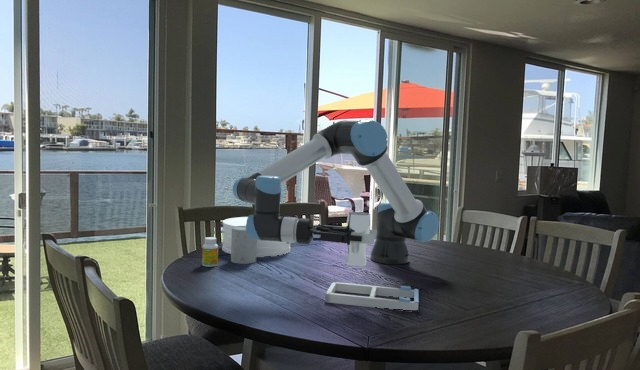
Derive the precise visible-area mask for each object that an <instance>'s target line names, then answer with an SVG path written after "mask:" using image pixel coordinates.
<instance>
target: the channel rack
mask: <svg viewBox="0 0 640 370" xmlns="http://www.w3.org/2000/svg"><path fill="white" fill-rule="evenodd" d="M400 288H401V287H400ZM400 288H399V287H390V286H378V285H371V284H370V285H368V284H358V283H350V282H339V281H332V283H331V284H330V286H329V287H328V289H327V291H326V292H325V296H324V297H325V298H324V299H325V300H324V303H329V304H330V303H331V304H339V305H346V306H347V305H348V306H355V307H358V306H359V307H367V308H375V307H377V308H376V309H384V308H389V309H388V310H393V309H403V310H418V311H419V304H418V303H414V300H413V301H412V300H410V303H409V302H399V299H391V298H383V297H389V296H393V297H392V298H398V297H407V298H414V289H411V291H408V290H400ZM336 292H340V293H336ZM341 292H342V293H341ZM344 293H348V294H344ZM349 293H353V294H349ZM354 294H360V295H354ZM361 294H362V295H363V296H362V295H361ZM364 295H365V296H364ZM366 295H369V296H366ZM377 296H378V297H377ZM379 296H380V297H379ZM403 310H402V311H403Z"/></svg>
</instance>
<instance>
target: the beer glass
mask: <svg viewBox="0 0 640 370" xmlns="http://www.w3.org/2000/svg"><path fill="white" fill-rule="evenodd" d="M345 224H346V226H345V227H346V233H350V234H351V233H363V234H370V230H371V213H368V212H362V211H349V212H347V219H346V223H345ZM367 248H368V244H364V243H353V242H351V241H350V245H347V255H346V261H345V265H348V266H349V267H366V266H367Z"/></svg>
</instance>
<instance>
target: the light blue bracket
mask: <svg viewBox="0 0 640 370" xmlns="http://www.w3.org/2000/svg"><path fill="white" fill-rule="evenodd" d="M411 287H412V286H409V285H407V286H406V285H400V290H408V291H411V290H412V288H411ZM413 290H414V299H413V301H414V303H418V305H419V303H420V302H419V300H420V299H419V289H418V288H414V289H413ZM398 300H399V302H409V303H410V301H411V299H410V298H404V297H399V298H398Z"/></svg>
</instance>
